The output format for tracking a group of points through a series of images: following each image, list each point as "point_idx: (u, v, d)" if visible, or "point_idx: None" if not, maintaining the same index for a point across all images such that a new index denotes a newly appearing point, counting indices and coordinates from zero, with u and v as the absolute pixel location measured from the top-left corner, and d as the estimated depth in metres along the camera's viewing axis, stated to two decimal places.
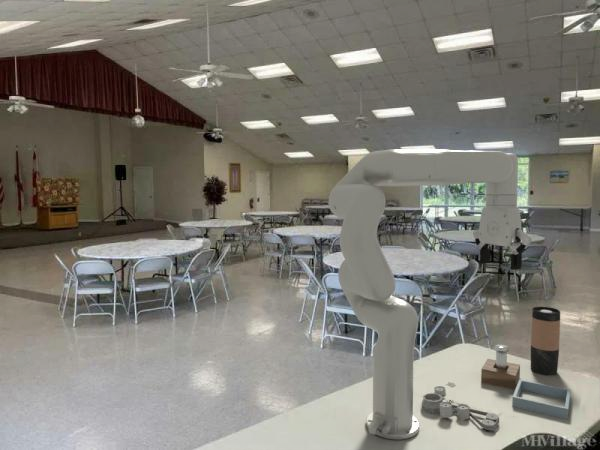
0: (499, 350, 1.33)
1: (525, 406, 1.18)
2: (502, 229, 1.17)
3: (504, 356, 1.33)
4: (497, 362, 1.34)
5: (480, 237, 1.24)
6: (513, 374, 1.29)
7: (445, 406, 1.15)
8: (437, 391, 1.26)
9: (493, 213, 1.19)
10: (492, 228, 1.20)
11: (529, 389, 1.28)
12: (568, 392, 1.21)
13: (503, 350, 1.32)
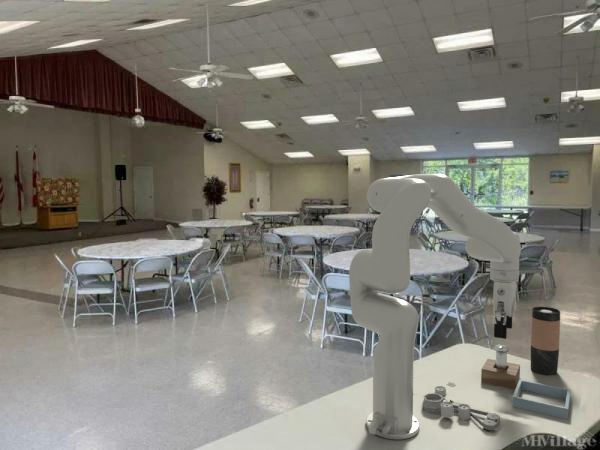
0: (499, 350, 1.33)
1: (525, 406, 1.18)
2: (515, 297, 1.34)
3: (504, 356, 1.33)
4: (497, 362, 1.34)
5: (511, 312, 1.28)
6: (513, 374, 1.29)
7: (446, 406, 1.15)
8: (437, 391, 1.26)
9: (514, 286, 1.31)
10: (514, 299, 1.31)
11: (529, 389, 1.28)
12: (568, 392, 1.21)
13: (503, 350, 1.32)
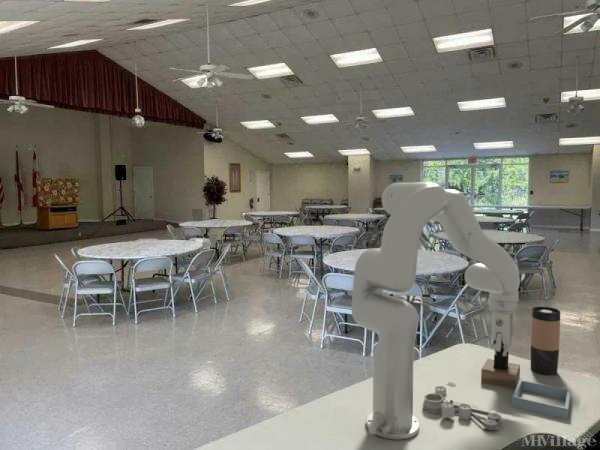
0: None
1: (525, 406, 1.18)
2: None
3: None
4: None
5: (509, 343, 1.29)
6: (513, 374, 1.29)
7: (447, 406, 1.15)
8: (438, 391, 1.26)
9: (513, 316, 1.32)
10: (512, 330, 1.32)
11: (529, 389, 1.28)
12: (568, 392, 1.21)
13: None
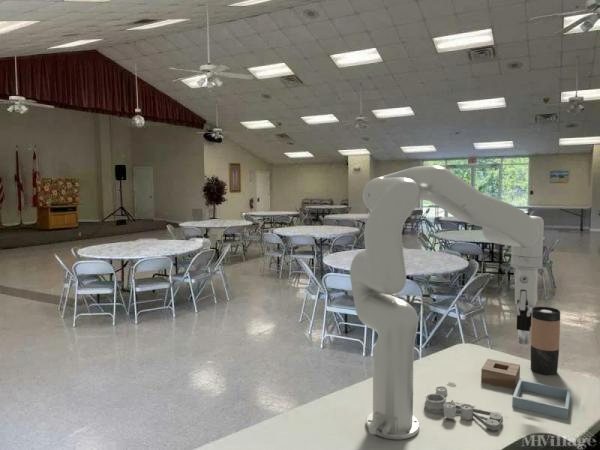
0: None
1: (525, 406, 1.18)
2: None
3: None
4: None
5: (535, 301, 1.20)
6: (513, 374, 1.29)
7: (449, 407, 1.15)
8: (439, 391, 1.26)
9: (537, 274, 1.23)
10: None
11: (529, 389, 1.28)
12: (568, 392, 1.21)
13: None
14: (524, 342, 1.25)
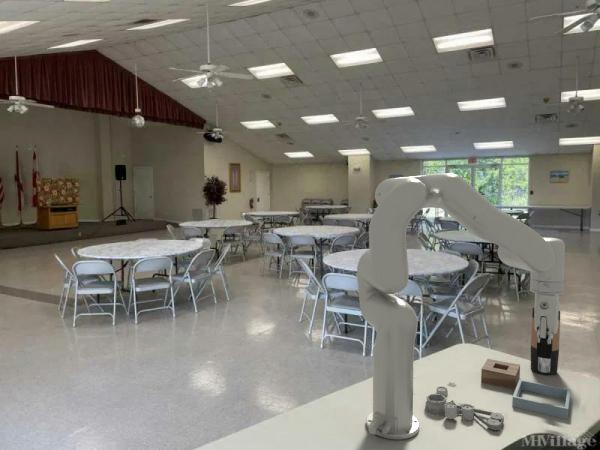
0: None
1: (525, 406, 1.18)
2: None
3: None
4: None
5: (556, 329, 1.14)
6: (513, 374, 1.29)
7: (450, 407, 1.14)
8: (439, 392, 1.26)
9: (558, 299, 1.17)
10: (558, 314, 1.17)
11: (529, 389, 1.28)
12: (568, 392, 1.21)
13: None
14: (545, 370, 1.19)
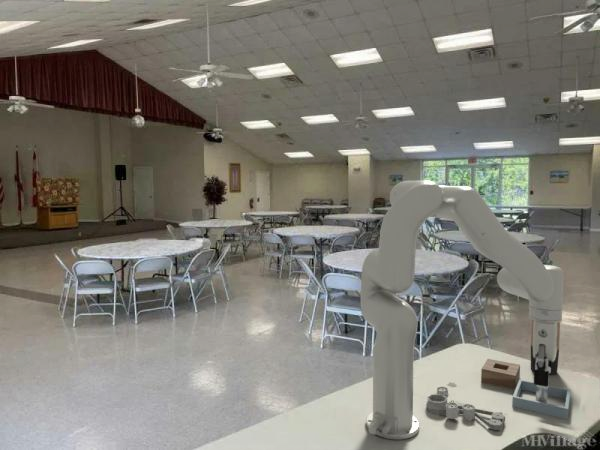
0: None
1: (525, 406, 1.18)
2: None
3: None
4: None
5: (554, 357, 1.15)
6: (513, 374, 1.29)
7: (451, 407, 1.14)
8: (440, 392, 1.26)
9: None
10: (556, 341, 1.18)
11: (529, 389, 1.28)
12: (568, 392, 1.21)
13: None
14: None
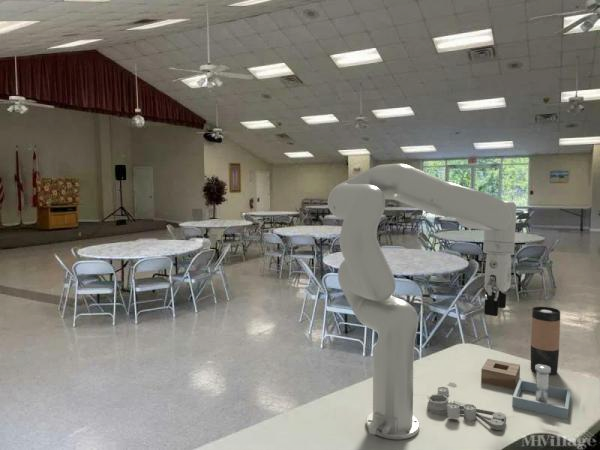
0: (540, 371, 1.19)
1: (525, 406, 1.18)
2: (510, 273, 1.23)
3: (546, 378, 1.19)
4: (538, 384, 1.20)
5: (504, 287, 1.18)
6: (513, 374, 1.29)
7: (453, 407, 1.14)
8: (441, 392, 1.25)
9: (509, 260, 1.21)
10: (508, 275, 1.21)
11: (529, 389, 1.28)
12: (568, 392, 1.21)
13: (545, 371, 1.19)
14: None
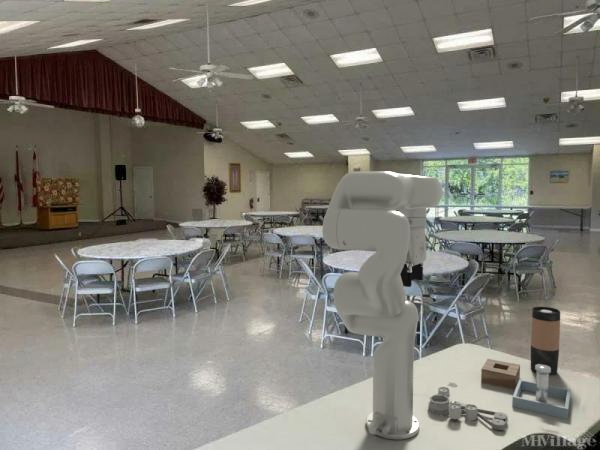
0: (541, 371, 1.19)
1: (525, 406, 1.18)
2: (424, 246, 1.31)
3: (546, 378, 1.19)
4: (538, 384, 1.20)
5: (416, 260, 1.26)
6: (513, 374, 1.29)
7: (454, 407, 1.14)
8: (441, 392, 1.25)
9: (421, 234, 1.29)
10: (421, 248, 1.29)
11: (529, 389, 1.28)
12: (568, 392, 1.21)
13: (545, 371, 1.19)
14: None
